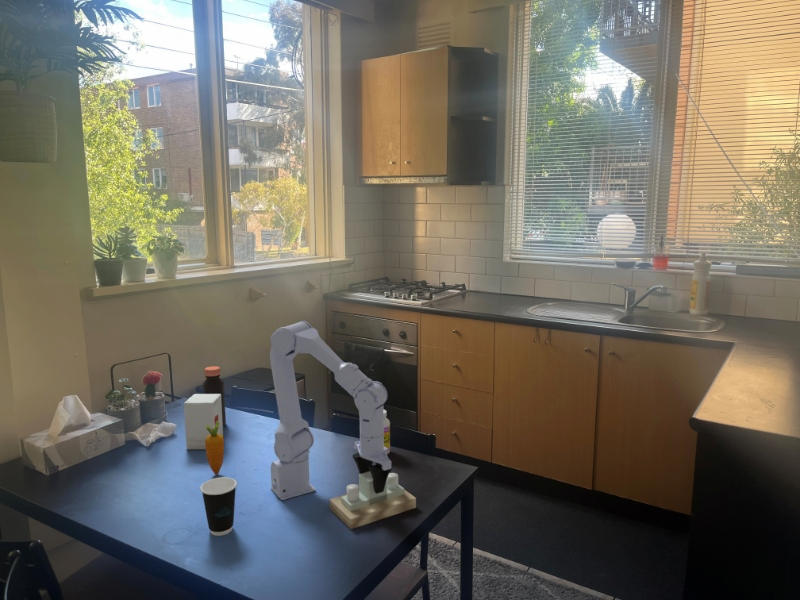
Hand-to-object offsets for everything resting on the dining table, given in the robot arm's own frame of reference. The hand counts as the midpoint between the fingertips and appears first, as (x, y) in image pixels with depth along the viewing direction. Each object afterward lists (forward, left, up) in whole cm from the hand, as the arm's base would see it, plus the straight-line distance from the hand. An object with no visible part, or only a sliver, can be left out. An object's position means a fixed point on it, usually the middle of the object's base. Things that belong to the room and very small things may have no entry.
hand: (372, 486), depth 145 cm
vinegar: (-17, +76, -6) cm, 79 cm away
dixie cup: (-34, +10, -6) cm, 36 cm away
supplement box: (-24, +62, -6) cm, 67 cm away
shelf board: (0, 0, -6) cm, 6 cm away
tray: (0, 0, -3) cm, 3 cm away
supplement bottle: (+18, +27, -6) cm, 33 cm away
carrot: (-27, +39, -6) cm, 48 cm away
